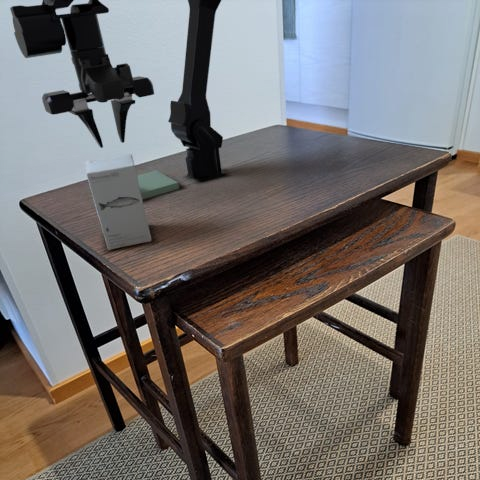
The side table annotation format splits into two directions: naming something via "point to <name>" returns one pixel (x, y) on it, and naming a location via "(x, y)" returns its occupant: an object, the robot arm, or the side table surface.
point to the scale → (155, 184)
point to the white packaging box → (118, 201)
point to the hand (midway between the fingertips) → (112, 144)
